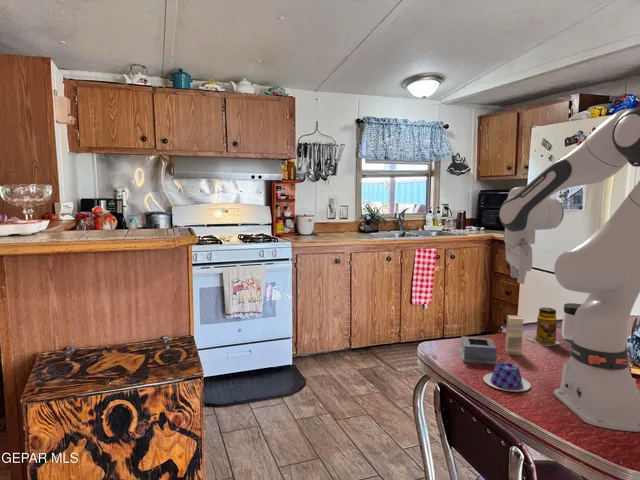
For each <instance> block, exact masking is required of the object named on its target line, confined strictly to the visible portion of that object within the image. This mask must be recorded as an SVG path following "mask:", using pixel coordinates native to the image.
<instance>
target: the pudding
mask: <svg viewBox="0 0 640 480" xmlns="http://www.w3.org/2000/svg"><path fill="white" fill-rule="evenodd" d="M482 380H483V381H484V382H485V384H486V385H488V386H489V387H492V388H496V389H497V390H502V391H506V392H525V391H528V390H529V389H530V388H531V386H532V385H531V383H530V382H529V381H528V380H527V379H525V378H523V377H522V376H521V370H520V368H519V367H518V366H517V365H515V364H514V363H509V362H499V363H498V364H496V365H495V366H494V368H493V371H492V372H491V373H486V374H485V375H484V376H483V378H482Z"/></svg>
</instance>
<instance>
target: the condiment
mask: <svg viewBox="0 0 640 480" xmlns="http://www.w3.org/2000/svg"><path fill="white" fill-rule="evenodd" d="M538 311H539V312H538V315H537V320H536V336H534V337H531V338H530V337H529V338H526V340H528V341H532V342H534V343H537V344H539V345H542V346H545V347H552V346H556V345H559V344H561V342H560V341H556V339H557V325H558V318H557V311H556V309H555V308H552V307H539V309H538Z"/></svg>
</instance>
